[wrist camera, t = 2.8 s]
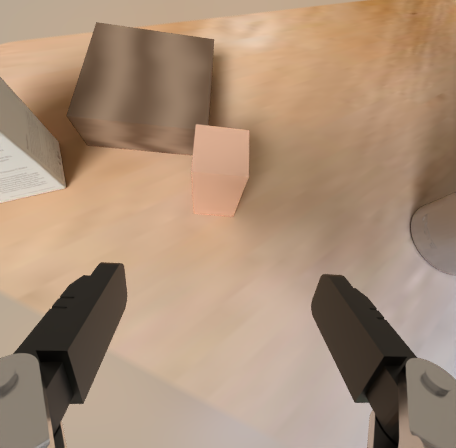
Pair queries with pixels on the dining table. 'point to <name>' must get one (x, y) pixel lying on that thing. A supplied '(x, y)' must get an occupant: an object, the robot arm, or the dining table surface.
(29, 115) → the small box
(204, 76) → the walnut block
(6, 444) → the robot arm
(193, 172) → the terracotta block
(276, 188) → the dining table surface
